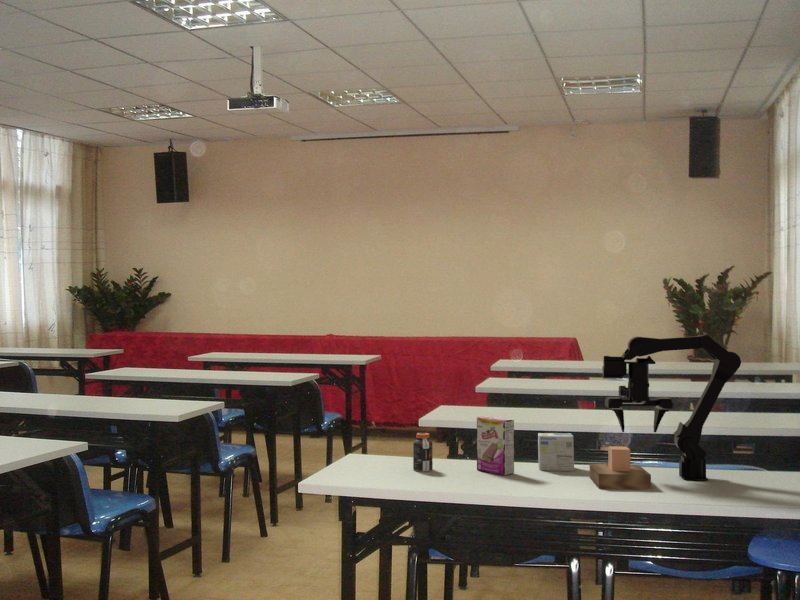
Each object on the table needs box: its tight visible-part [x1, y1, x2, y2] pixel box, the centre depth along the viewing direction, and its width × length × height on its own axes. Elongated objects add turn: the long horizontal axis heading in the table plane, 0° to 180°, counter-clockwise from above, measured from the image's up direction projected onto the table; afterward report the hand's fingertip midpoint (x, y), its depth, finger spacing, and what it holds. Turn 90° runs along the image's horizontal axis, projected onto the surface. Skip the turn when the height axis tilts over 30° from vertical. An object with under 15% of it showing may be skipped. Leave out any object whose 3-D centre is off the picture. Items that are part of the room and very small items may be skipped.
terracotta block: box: [607, 445, 631, 471], centre depth 219 cm, size 5×5×6 cm
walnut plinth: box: [589, 463, 652, 490], centre depth 219 cm, size 14×14×4 cm
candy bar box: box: [476, 415, 515, 476], centre depth 235 cm, size 11×5×16 cm, turn 43°
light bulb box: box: [537, 432, 575, 472], centre depth 240 cm, size 11×7×11 cm, turn 84°
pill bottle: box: [412, 432, 434, 472], centre depth 238 cm, size 6×6×11 cm
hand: (638, 432), depth 228 cm, fingers open, 9 cm apart
